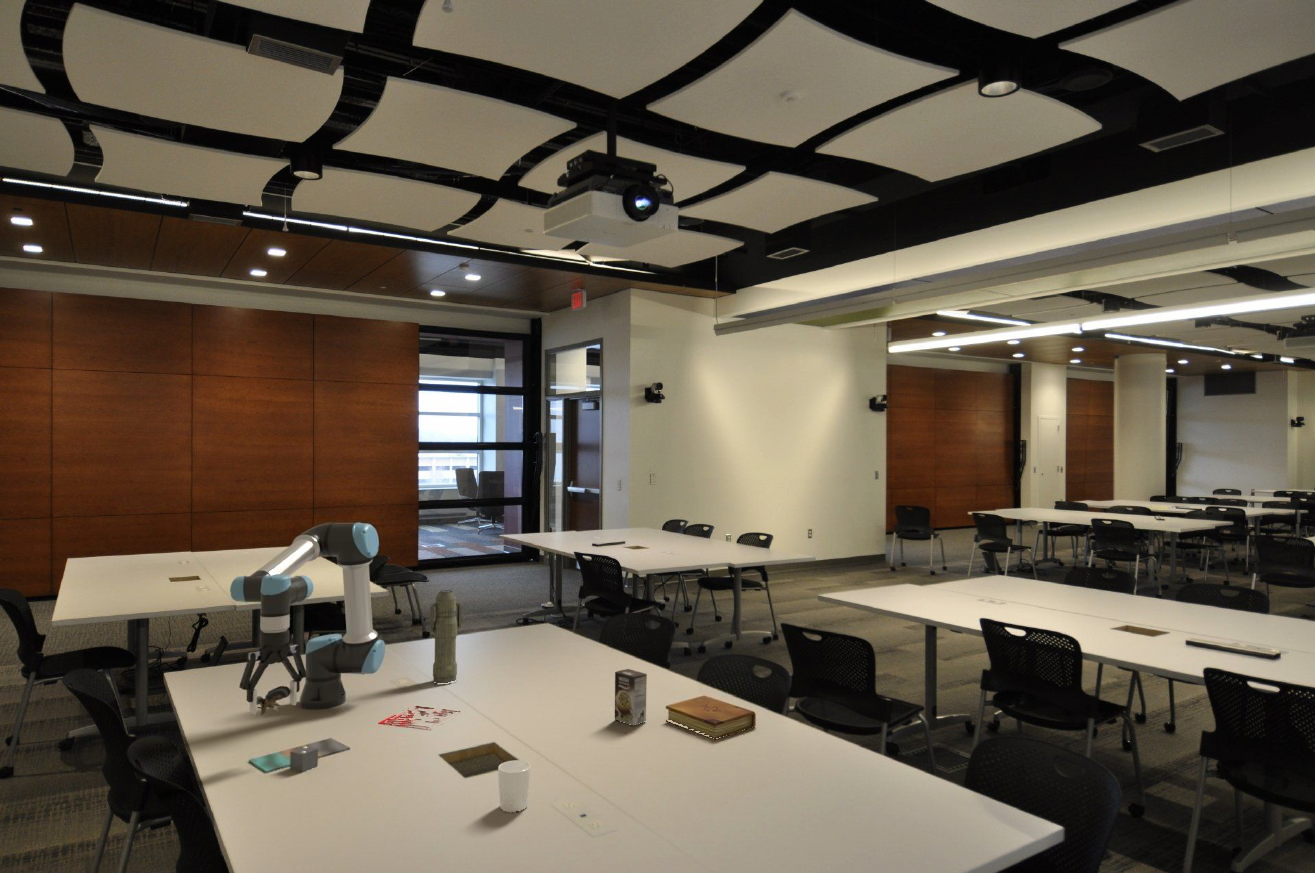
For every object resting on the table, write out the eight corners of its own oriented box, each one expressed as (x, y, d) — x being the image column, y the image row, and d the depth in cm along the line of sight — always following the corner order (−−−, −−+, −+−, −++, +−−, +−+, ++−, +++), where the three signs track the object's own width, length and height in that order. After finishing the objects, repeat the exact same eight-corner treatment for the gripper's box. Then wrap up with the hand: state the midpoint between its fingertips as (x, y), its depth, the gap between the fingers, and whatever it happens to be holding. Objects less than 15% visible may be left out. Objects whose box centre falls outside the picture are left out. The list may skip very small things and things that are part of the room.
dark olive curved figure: (280, 711, 220) (297, 696, 229) (265, 691, 219) (282, 676, 228) (259, 725, 221) (277, 709, 230) (244, 704, 220) (262, 689, 229)
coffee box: (613, 720, 262) (614, 671, 262) (627, 716, 266) (627, 667, 267) (633, 727, 256) (633, 676, 256) (647, 722, 260) (647, 672, 261)
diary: (755, 728, 256) (755, 710, 257) (715, 742, 244) (715, 723, 244) (705, 711, 274) (705, 694, 274) (665, 722, 261) (665, 705, 262)
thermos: (464, 681, 307) (465, 590, 308) (435, 687, 299) (436, 594, 300) (453, 676, 314) (455, 588, 315) (425, 681, 306) (426, 591, 307)
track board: (330, 739, 243) (330, 737, 243) (349, 749, 235) (350, 747, 235) (248, 761, 225) (248, 759, 225) (266, 772, 217) (266, 770, 217)
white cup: (499, 800, 200) (500, 760, 200) (531, 799, 201) (531, 759, 201) (496, 814, 192) (496, 772, 192) (528, 813, 193) (529, 771, 193)
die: (305, 763, 224) (305, 745, 224) (317, 766, 222) (318, 748, 222) (290, 769, 219) (290, 750, 219) (302, 772, 217) (302, 753, 217)
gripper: (308, 622, 236) (307, 696, 235) (226, 634, 219) (225, 715, 218) (320, 625, 231) (319, 702, 230) (237, 638, 214) (235, 721, 213)
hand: (273, 708), depth 224 cm, fingers closed on dark olive curved figure, 10 cm apart
